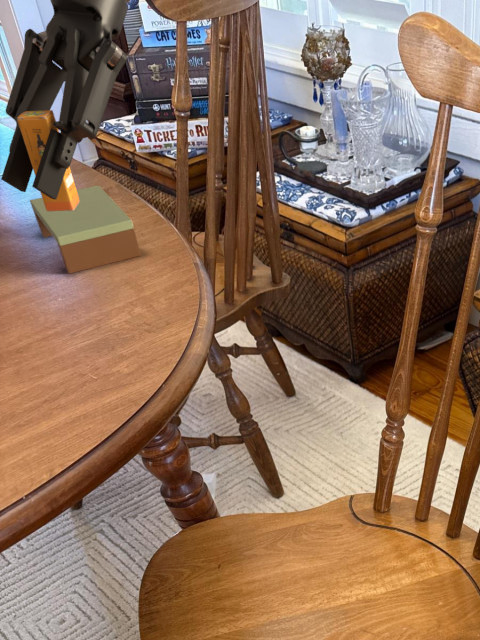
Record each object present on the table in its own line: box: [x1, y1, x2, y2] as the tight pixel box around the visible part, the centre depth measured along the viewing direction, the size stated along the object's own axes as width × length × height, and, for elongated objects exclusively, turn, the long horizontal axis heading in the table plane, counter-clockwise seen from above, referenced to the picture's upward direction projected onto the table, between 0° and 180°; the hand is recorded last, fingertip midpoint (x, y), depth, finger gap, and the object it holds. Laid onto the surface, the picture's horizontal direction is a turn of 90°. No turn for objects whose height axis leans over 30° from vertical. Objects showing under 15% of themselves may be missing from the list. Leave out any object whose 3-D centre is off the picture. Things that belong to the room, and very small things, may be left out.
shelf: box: [29, 185, 142, 275], centre depth 110 cm, size 16×10×5 cm, turn 32°
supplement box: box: [17, 109, 79, 211], centre depth 88 cm, size 3×3×10 cm
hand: (28, 189), depth 87 cm, fingers closed on supplement box, 4 cm apart
